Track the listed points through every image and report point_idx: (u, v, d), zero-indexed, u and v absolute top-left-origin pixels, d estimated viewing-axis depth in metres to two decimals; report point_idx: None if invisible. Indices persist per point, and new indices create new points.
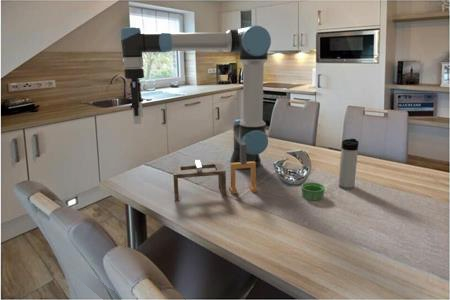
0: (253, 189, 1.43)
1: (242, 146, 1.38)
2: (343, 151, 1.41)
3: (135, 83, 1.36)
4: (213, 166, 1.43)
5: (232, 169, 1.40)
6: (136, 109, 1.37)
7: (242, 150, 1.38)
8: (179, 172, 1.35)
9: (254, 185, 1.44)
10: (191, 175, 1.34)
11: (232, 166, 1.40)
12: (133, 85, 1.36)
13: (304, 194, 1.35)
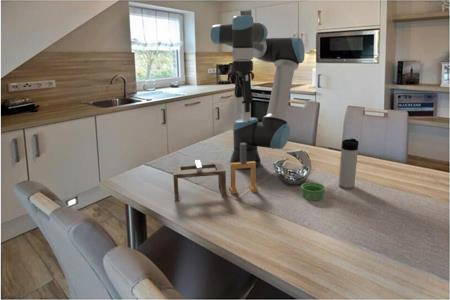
0: (253, 189, 1.43)
1: (242, 146, 1.38)
2: (343, 151, 1.41)
3: (248, 76, 1.25)
4: (213, 166, 1.43)
5: (232, 169, 1.40)
6: (248, 105, 1.26)
7: (242, 150, 1.38)
8: (179, 172, 1.35)
9: (254, 185, 1.44)
10: (191, 175, 1.34)
11: (232, 166, 1.40)
12: (246, 78, 1.25)
13: (304, 194, 1.35)
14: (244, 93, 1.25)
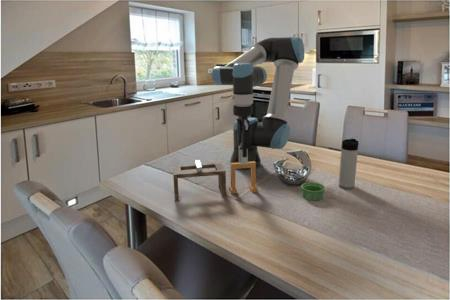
0: (253, 189, 1.43)
1: None
2: (343, 151, 1.41)
3: (248, 127, 1.30)
4: (213, 166, 1.43)
5: (232, 169, 1.40)
6: (245, 150, 1.36)
7: None
8: (179, 172, 1.35)
9: (254, 185, 1.44)
10: (191, 175, 1.34)
11: (232, 166, 1.40)
12: (246, 128, 1.31)
13: (304, 194, 1.35)
14: (242, 140, 1.33)
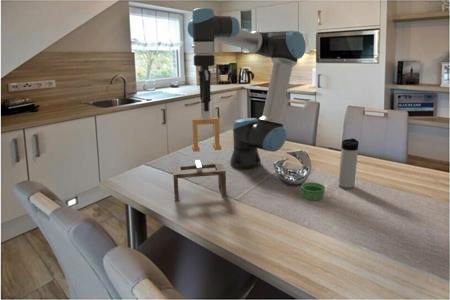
0: (216, 147, 1.35)
1: None
2: (343, 151, 1.41)
3: (208, 76, 1.23)
4: (213, 166, 1.43)
5: (194, 125, 1.32)
6: (207, 104, 1.28)
7: None
8: (179, 172, 1.35)
9: (218, 143, 1.36)
10: (191, 175, 1.34)
11: (194, 122, 1.32)
12: (206, 78, 1.23)
13: (304, 194, 1.35)
14: (203, 92, 1.26)
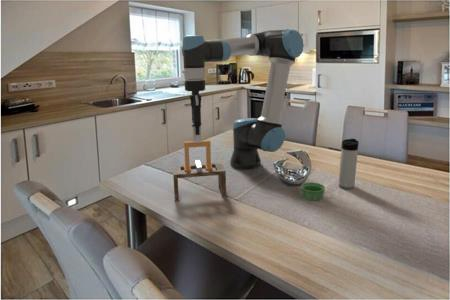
0: (208, 169, 1.37)
1: None
2: (343, 151, 1.41)
3: (198, 102, 1.25)
4: (213, 166, 1.43)
5: (185, 148, 1.34)
6: (198, 128, 1.30)
7: None
8: (179, 172, 1.35)
9: (209, 165, 1.38)
10: (191, 175, 1.34)
11: (185, 145, 1.34)
12: (196, 104, 1.25)
13: (304, 194, 1.35)
14: (194, 117, 1.28)
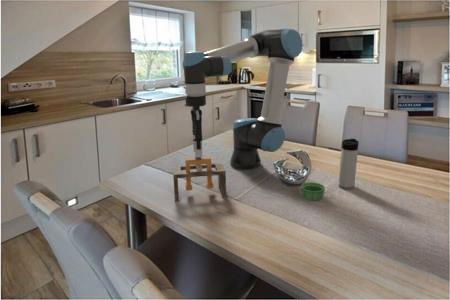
0: (209, 186, 1.39)
1: None
2: (343, 151, 1.41)
3: (199, 116, 1.26)
4: (213, 166, 1.43)
5: (186, 165, 1.37)
6: (199, 142, 1.31)
7: None
8: (179, 172, 1.35)
9: (210, 182, 1.40)
10: (191, 175, 1.34)
11: (186, 162, 1.36)
12: (197, 118, 1.26)
13: (304, 194, 1.35)
14: (195, 131, 1.28)
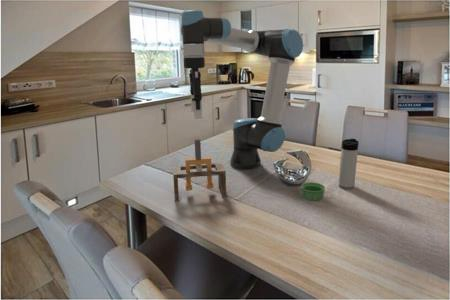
0: (209, 186, 1.39)
1: (196, 141, 1.34)
2: (343, 151, 1.41)
3: (198, 73, 1.22)
4: (213, 166, 1.43)
5: (186, 165, 1.37)
6: (198, 102, 1.23)
7: (196, 146, 1.34)
8: (179, 172, 1.35)
9: (210, 182, 1.40)
10: (191, 175, 1.34)
11: (186, 162, 1.36)
12: (195, 75, 1.22)
13: (304, 194, 1.35)
14: (194, 90, 1.22)
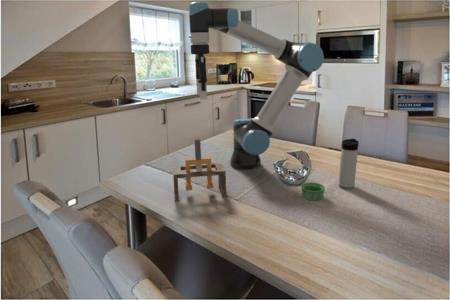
0: (209, 186, 1.39)
1: (196, 141, 1.34)
2: (343, 151, 1.41)
3: (203, 58, 1.37)
4: (213, 166, 1.43)
5: (186, 165, 1.37)
6: (204, 84, 1.38)
7: (196, 146, 1.34)
8: (179, 172, 1.35)
9: (210, 182, 1.40)
10: (191, 175, 1.34)
11: (186, 162, 1.36)
12: (201, 60, 1.37)
13: (304, 194, 1.35)
14: (200, 73, 1.37)
